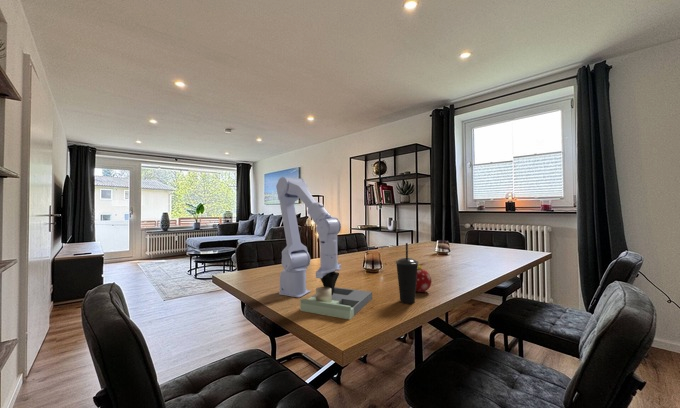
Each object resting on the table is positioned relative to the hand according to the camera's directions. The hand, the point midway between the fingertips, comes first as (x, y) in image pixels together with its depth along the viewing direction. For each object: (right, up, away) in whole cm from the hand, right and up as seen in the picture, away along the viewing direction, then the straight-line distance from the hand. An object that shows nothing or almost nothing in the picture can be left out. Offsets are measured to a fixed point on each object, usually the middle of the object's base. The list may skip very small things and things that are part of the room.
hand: (329, 294), depth 93 cm
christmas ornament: (+34, -3, +13) cm, 37 cm away
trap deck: (+3, -3, 0) cm, 4 cm away
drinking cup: (+27, -3, +3) cm, 27 cm away
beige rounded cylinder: (-2, -1, -4) cm, 4 cm away
